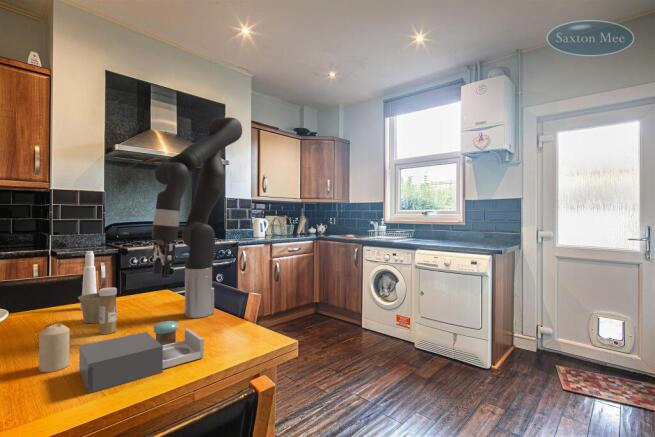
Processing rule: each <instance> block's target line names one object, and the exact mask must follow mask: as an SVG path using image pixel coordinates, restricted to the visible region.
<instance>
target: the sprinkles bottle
mask: <svg viewBox="0 0 655 437" xmlns="http://www.w3.org/2000/svg"><path fill="white" fill-rule="evenodd" d="M98 293H99V296H100V313H99V322H98V323H99V332H98V333H99V334H100V335H110V334H113V333H115V332H116V331H117V294H118V289H117V287H103V288H100V289H99V292H98Z"/></svg>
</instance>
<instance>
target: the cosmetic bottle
mask: <svg viewBox="0 0 655 437" xmlns="http://www.w3.org/2000/svg"><path fill="white" fill-rule="evenodd" d="M84 256H85V258H84V260H85V262H84V265H85V266H83V275H82V276H83V277H82V289H81V290H82V291H81V296H82V295H86V294H92V293H98V292H97V291H98V290H97V273H96V272H97V271H96V266H95V254H94V251H93V250H90V251H89V250H87V251H86V252H85V254H84ZM79 310H81V311H82V306H81V304H80V306H79Z"/></svg>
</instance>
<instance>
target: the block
mask: <svg viewBox="0 0 655 437" xmlns="http://www.w3.org/2000/svg"><path fill="white" fill-rule="evenodd" d="M176 333H177V330H176V331H174V332H170V333H164V334H158V333H155V340H156V341H158V342H159V343H160V344H161V345H162V346H163V345H167V344H171V343H175V342H177V341H176Z"/></svg>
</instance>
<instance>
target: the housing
mask: <svg viewBox="0 0 655 437" xmlns="http://www.w3.org/2000/svg"><path fill="white" fill-rule="evenodd" d="M78 350H79V353H78V354H79V356H78V357H79V359H78V360H79V362H78V365H79V366H78V367H79V370H78V371H79V374H80V377H81V379H82V382H83V386H84V388H85V389H86V392H87V394H93V393H96V392H101V391H103V390H106V389H110V388H114V387H117V386H120V385H124V384H127V383H131V382H134V381H137V380H138V381H139V380H140V379H145V378H148V377H152V376H155V375H158V374H161V373H162V374H163V373H164V372H163V371H164V369H163V346H162V345H161V344H160V343H159V342H158V341H156V338H154V336H152V335H151V334H150V333H149V332H148V331H143V332H139V333H134V334H130V335H125V336H124V335H123V336H120V337H113V338H109V339H105V340H100V341H95V342H90V343H84V344H81V345H80V344H79V349H78Z"/></svg>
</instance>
